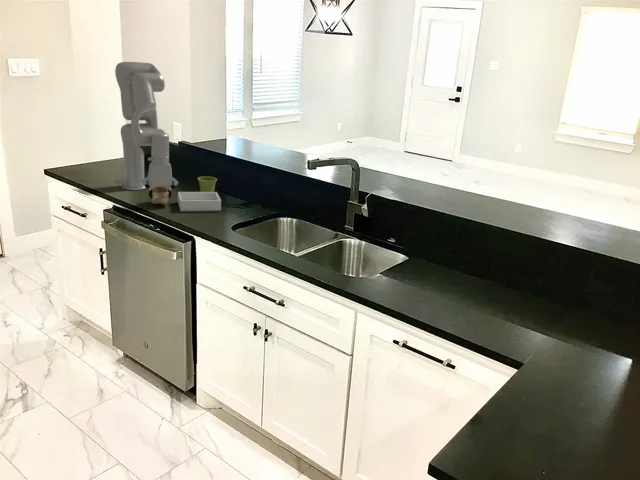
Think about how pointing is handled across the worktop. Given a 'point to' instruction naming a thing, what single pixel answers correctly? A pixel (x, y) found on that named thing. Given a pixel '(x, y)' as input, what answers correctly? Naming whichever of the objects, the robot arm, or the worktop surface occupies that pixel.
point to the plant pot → (207, 184)
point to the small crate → (160, 195)
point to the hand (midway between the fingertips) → (160, 198)
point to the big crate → (199, 201)
